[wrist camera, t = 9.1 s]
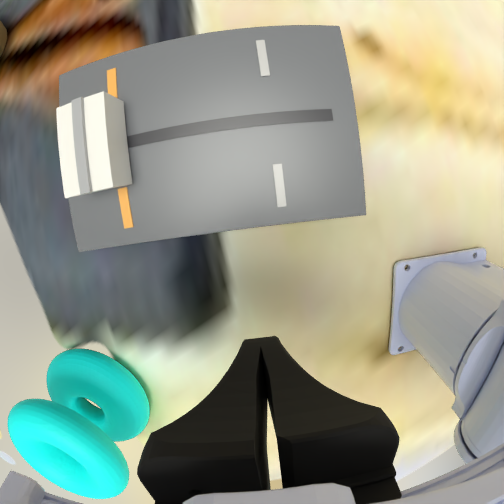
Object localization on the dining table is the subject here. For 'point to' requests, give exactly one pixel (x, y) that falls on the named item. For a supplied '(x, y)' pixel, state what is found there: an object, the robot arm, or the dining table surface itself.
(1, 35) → the squeeze bottle
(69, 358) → the donuts
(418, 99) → the dining table surface
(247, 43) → the console
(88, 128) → the fader
